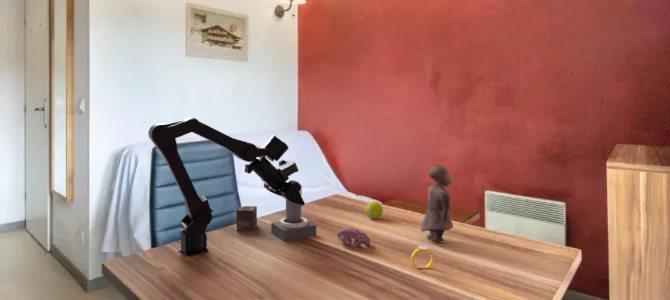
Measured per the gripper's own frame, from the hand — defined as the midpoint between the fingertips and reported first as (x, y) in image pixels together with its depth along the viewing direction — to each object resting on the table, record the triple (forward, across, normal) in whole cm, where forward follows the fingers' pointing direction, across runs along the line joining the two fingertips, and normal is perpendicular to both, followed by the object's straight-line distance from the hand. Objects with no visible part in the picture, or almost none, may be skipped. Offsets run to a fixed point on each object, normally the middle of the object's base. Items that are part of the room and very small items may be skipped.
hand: (297, 201), depth 136 cm
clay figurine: (+34, -29, -18) cm, 48 cm away
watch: (+20, -43, -4) cm, 47 cm away
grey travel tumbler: (+4, 0, +6) cm, 8 cm away
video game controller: (+16, -19, +1) cm, 24 cm away
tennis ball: (+32, +2, -16) cm, 36 cm away
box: (-1, +14, +17) cm, 22 cm away
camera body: (+7, 0, +9) cm, 11 cm away
